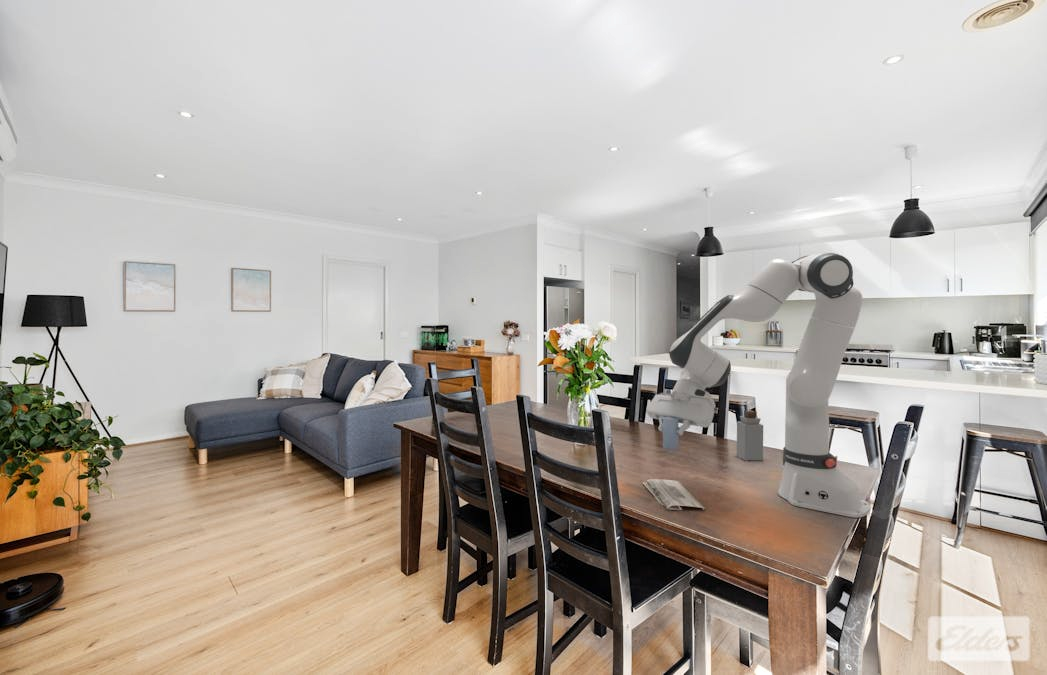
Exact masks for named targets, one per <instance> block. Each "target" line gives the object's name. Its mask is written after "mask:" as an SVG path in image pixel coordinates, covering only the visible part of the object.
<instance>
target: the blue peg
mask: <svg viewBox="0 0 1047 675" xmlns="http://www.w3.org/2000/svg"><path fill="white" fill-rule="evenodd" d="M677 427H679V423H678V418H674V417H663V432H662V448H663V449H664V450H666V451H667V450H668V451H676V450H679V435H677V433H676V432H675V431H676V430H677Z"/></svg>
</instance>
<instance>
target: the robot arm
mask: <svg viewBox="0 0 1047 675" xmlns="http://www.w3.org/2000/svg"><path fill="white" fill-rule="evenodd" d="M853 276H854V271H853V265H852V263H851V261H850V260H849V259H848V258H846V257H845V256H843V255H841V254H839V253H834V252H827V253H826V252H823V253H822V252H819V253H813V254H811V255H805V256H802V257H799V258H797V259H795V260H792V261H790V260H787V259H783V258H774V259H771V260H769V261H768V262H766V264H764V265H763V267H762V268H760V269H759V271H758V272H757V273H756V274H755V275H754V276H753V277H752V278H751V280H750V281H749V282H748V284H747V285H746V286H745V287H744V288H743V289H742V290H741V291H740V292H738V293H736V294H734V295H733V294H731V295H730V294H728V295H726V296H724V297H723V298H720V300H718V301H717V302H716V303H715V304H714V305H713V306H712V307H711V308H710V309H708V310H707V312H706V313H704V314H703V315H702V316H701V317H700V318H699V319H698V320H697V321H696V322H695V323H694V324H693V325H692V326H691V327H690V328H689V329H688V330H687V331H686V332H684V333H683V334H682V335H681V336H680V337H678V338H677V339H676V340H675V341H674V342H672V343H671V346H670V348H669V350H668V351H669V352H668V355H669V359H670V360H671V363H672V364H673V365H675V366H677V367H679V368H680V369H681V372H680V377H679V379H677V381H676V383H675V385H674V386H673V388H672V391H671V393H665V392H660V393H657V394H655V395H654V396H653V398H652V399H651V401H650V402H649V404H648V406H647V407H646V410H645V411H646V413H647V415H648V416H649V417H650V419H655V420H658V422H659V426H658V427H657V428H658V431H659V432H661V433H663V417H674V418H678V424H681V425H680V427H679V426H678V427H677V430H676V431H675V432H676V433H677V435H678V436H683V434H684V432H686V431H687V430H688V429H689V428H690V427H691V426H695V427H700V428H708V427H710V426H711V424H712V422H713V419H714V416H715V411H714V409H716V402H715V401H714V399H713V396H712V395H711V394H710V392H709V391H707V390H706V389H707V388H710V389H711V388H715V387H720V386H722V385H723V384H725V382H726V381H727V379H728V378H729V376H730V374H731V370H732V364H731V361H730V359H729V358H727V357H725V356H724V355H723V354H721V353H720V352H718V351H717V350H714V349H713V348H711V347H710V346H708V345H706V344H705V343H703V342H702V341H701V339H702V338H703V337H704V336H706V334H707V333H709V332H710V331H711V330H712V329H713V327H715V325H717V324H718V323H720V321H722V320H725V319H733V320H735V319H736V320H739V321H744V322H745V321H746V322H748V323H749V322H751V323H760V322H761V323H762V322H766V321H769V320H770V319H771V318H773V316H775V315H776V314H777V313H778V311H779V310H780V309H781V308H782V306H783V304H785V302H786V301H787V299H788V298H789V297H790V296H791V295H792V294H793V293H794V292H796V291H797V290H798V291H800V292H808V293H812V294H813V293H814V297H815V304H814V308H813V310H812V313H811V315H810V318H809V321H808V323H807V326H806V328H805V331H804V333H803V336H802V339H801V341H800V345H799V347H798V350H797V353H796V356H795V358H794V361H793V365H792V367H791V369H790V371H789V372H788V374H787V377H786V380H785V418H784V419H785V424H784V425H785V426H784V427H785V428H784V429H785V432H784V435H785V436H784V437H785V438H784V447H783V450H782V466H783V472H782V476H781V481H780V485H779V489H778V490H777V494H778V495H779V496H780V497H782V499H785V500H787V501H788V502H789V504H790V505H792V506H795V507H799V508H804V509H810V510H814V511H819V512H824V513H829V514H834V515H840V516H843V517H849V518H853V519H857V518H863V517H865V516H867V515H869V513H870V512H871V504H870V503H869V502H868V501H867V500H864V499H862V498H861V497H862V496H861V491H860V488H859V486H858V484H857V483H856V482H855V481H854V480H853V479H852V478H850V477H849V476H848V475H847V474H845V473H844V472H843V471H842V470H841V469H839V468H838V466H837V465H838V464H837V462H838V455H835V456H834V455H833V454H832V453H830V452H829V450H830V448H829V447H830V445H829V444H830V414H829V413H830V412H829V410H830V409H829V399H830V397H831V395H832V393H833V389H834V387H835V384H836V381H837V379H838V375H839V372H840V369H841V366H842V363H843V359H844V357H845V354H846V351H847V348H848V346H849V343H850V341H851V338H852V336H853V334H854V331H855V328H856V326H857V324H858V320H859V318H860V313H861V309H862V302H863V294H862V292H861V291H860V290H859V289H857V288H856V287H854V279H853V278H854V277H853Z"/></svg>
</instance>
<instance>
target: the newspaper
mask: <svg viewBox="0 0 1047 675" xmlns="http://www.w3.org/2000/svg"><path fill="white" fill-rule="evenodd" d="M646 481H647V482H642V484H643V485H644V487H645V488H646V489H647V490H648V491H649V492H650V493H651V494H652V495H653V497H654V498H655V500H656V501H657V503H659V502H660V503H661V504H662V505H661V504H660V503H659V504H660V505H661V506H663V505H664V506H665V507H664V506H663V507H664V508H665V509H667V510H668V511H673V510H674V511H680V510H679V507H678V506H681V507H691V508H692V507H693V508H700V509H701V508H702V509H703V508H704V509H705V510H706V508H705V507H704V506H703V505H702V504H701V503H700V502H699V501H698V500H697V499H696V498H695V496H694V495H693V494H692V493H690V492H689V491H688V489H686V487H685V486H683V484H682V483H681V482H680V481H678V480H673V479H672V480H671V479H664V478H663V479H662V478H661V479H660V478H654V479H653V478H650V479H647V480H646ZM650 486H651V487H652V488H651V487H650ZM655 492H656V493H655ZM658 496H659V497H658ZM702 509H701V510H702ZM704 509H703V510H702V511H705V510H704Z"/></svg>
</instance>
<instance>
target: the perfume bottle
mask: <svg viewBox="0 0 1047 675" xmlns="http://www.w3.org/2000/svg"><path fill="white" fill-rule="evenodd" d="M739 419H740V421H736V457H737V458H739V457H740V459H741V458H742V459H743V460H742V459H741V460H742V461H744V460H745V461H744V462H749V461H748V460H763V461H764V425H763V424H762V423H760V421H761V418H760V417H757V411H754V410H743V415H740V416H739Z"/></svg>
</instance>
